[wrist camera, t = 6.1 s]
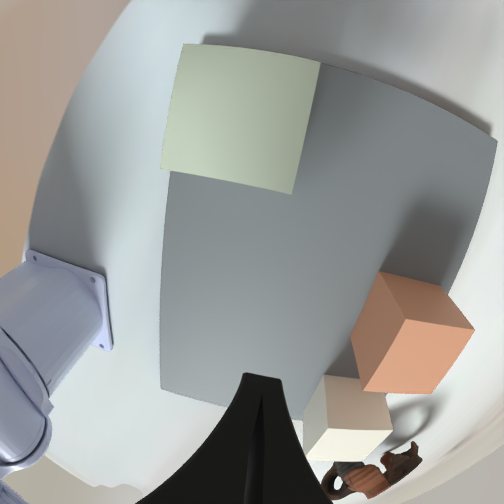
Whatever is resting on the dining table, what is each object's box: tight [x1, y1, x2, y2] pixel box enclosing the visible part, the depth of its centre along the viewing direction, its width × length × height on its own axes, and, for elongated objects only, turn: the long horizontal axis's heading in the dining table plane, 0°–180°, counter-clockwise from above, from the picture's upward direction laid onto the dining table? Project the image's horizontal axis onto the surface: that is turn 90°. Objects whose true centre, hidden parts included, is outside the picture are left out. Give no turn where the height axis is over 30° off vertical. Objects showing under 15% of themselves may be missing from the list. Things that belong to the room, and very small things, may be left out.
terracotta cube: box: [350, 271, 475, 394], centre depth 15 cm, size 5×5×5 cm
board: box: [160, 63, 498, 421], centre depth 18 cm, size 19×26×1 cm
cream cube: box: [303, 375, 393, 462], centre depth 18 cm, size 5×5×5 cm
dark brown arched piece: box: [321, 441, 422, 500], centre depth 23 cm, size 12×9×8 cm
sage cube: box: [160, 44, 321, 195], centre depth 11 cm, size 5×5×5 cm
